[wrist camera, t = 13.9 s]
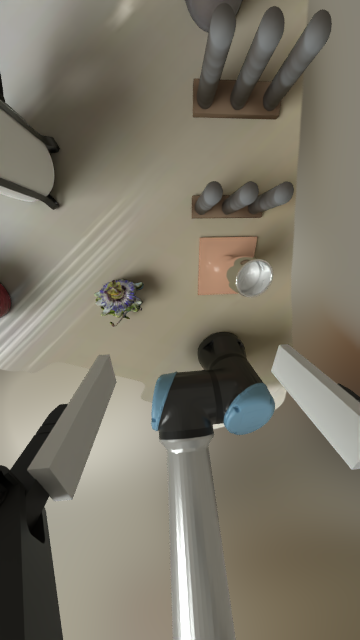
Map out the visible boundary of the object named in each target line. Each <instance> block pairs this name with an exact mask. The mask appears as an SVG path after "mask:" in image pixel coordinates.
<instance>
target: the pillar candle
mask: <svg viewBox="0 0 360 640" xmlns="http://www.w3.org/2000/svg"><path fill="white" fill-rule="evenodd" d="M185 1H186V4H187V7H188V10H189V13H190V15H191V17H192V18H193V20H194V21H195V23H196V24H197V25H198V26H199V27H200V28H201V29H203V30H204V31H206V32H208V33H209V29H210V24H211V19H212V15H213V12H214V10H215V9H216V7H217V6H218V5H219V4H221V3H227V4H229V5H230V6H231V7H232V9H233V11H234V14H235V16H236V14H237V12H238V10H239V8H240V5H241V2H242V0H185Z"/></svg>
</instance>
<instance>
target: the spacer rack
mask: <svg viewBox="0 0 360 640" xmlns="http://www.w3.org/2000/svg"><path fill="white" fill-rule="evenodd" d="M331 24H332V23H331V16H330V14H329V13H328V12H327V11H326V10H320V11H318V12H317V13H316V14H315V15H314V16H313V17H312V19H311V20H310V22H309V24H308V25H307V27H306V28H305V30H304V32H303V33H302V35H301V36H300V38H299V39H298V41H297V43H296V44H295V46H294V47H293V49H292V50H291V52H290V54H289V55H288V57H287V58H286V60H285V61H284V63H283V65H282V66H281V68H280V69H279V71H278V72H277V74H276V76H275V77H274V79H273V80H272V82H267V81H258V80H259V78H260V76H261V74H262V72H263V70H264V69H265V67H266V65H267V63H268V61H269V60H270V58H271V56H272V54H273V52H274V50H275V49H276V47H277V45H278V43H279V41H280V39H281V37H282V35H283V31H284V16H283V13H282V11H281V9H280V8H278V7H276V6H273V7H270V8H269V9H268V10H267V11H266V12H265V14H264V16H263V18H262V20H261V22H260V25H259V27H258V30H257V32H256V34H255V37H254V39H253V42H252V44H251V46H250V49H249V51H248V54H247V56H246V58H245V61H244V63H243V66H242V68H241V70H240V73H239V75H238V78H237V80H220V77H221V74H222V71H223V68H224V64H225V61H226V58H227V55H228V52H229V49H230V45H231V42H232V39H233V36H234V32H235V27H236V19H235V14H234V11H233V9H232V7H231V6H230V5H229V4H227V3H221V4H219V5H218V6H217V7H216V9H215V10H214V12H213V15H212V19H211V24H210V29H209V34H208V39H207V45H206V50H205V55H204V60H203V65H202V70H201V75H200V79H194V83H193V117H207V118H245V119H276V118H277V117H278V116H279V112H280V106H281V100H282V99H283V97H284V96H285V95H286V93H287V92H288V91H289V90H290V88H291V87H292V86H293V85H294V83H295V82H296V81H297V79H298V78H299V77H300V76H301V74H302V73H303V72H304V70H305V69H306V68H307V66H308V65H309V64H310V63H311V62H312V60H313V59H314V58H315V56H316V55H317V54H318V53H319V51H320V50H321V49H322V47H323V46H324V45H325V44H326V42H327V40H328V38H329V35H330V32H331ZM258 192H259V189H258V186H257V184H256V183H255V182H252V181H250V182H247V183H246V184H244V185H243V186H242V187H241V188H239V189H238V190H237V191H236V192H234V193H233V194H232V195H222V194H223V190H222V187H221V185H220V184H219V183H218V182H216V181H213V182H210V183H209V184H208V185H207V186H206V188H205V189H204V191H203V192H202V194H201V195H200V196H192V218H260V217H262V212H263V211H266V210H268V209H271V208H274V207H277V206H279V205H282V204H285V203H287V202H288V201H289V200H290V199H291V198H292V195H293V192H294V188H293V185H292V183H290V182H283V183H282V184H280V185H278V186H276V187H274V188H272V189H271V190H269V191H267V192H265V193H263V194H261V195H258Z"/></svg>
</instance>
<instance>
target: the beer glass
mask: <svg viewBox="0 0 360 640" xmlns="http://www.w3.org/2000/svg"><path fill="white" fill-rule="evenodd" d="M214 270H215V274H216V276H217V277H218V278H219V279H221V280H224V281H225V283H226V284H227V285H228V287H230V288H231V289H232V290H233V291H235V292H237V293H239V294H241V295H243V296H245V297H256V296H259V295H260V294H262V293H263V292H265V291H266V290H267V289H268V287H269V286H270V284H271V282H272V279H273V270H272V267H271V265H270V264H269V263H268V262H267V261H265V260H262V259H258V258H255V257H250V256H240V257H236V258H234V257H232V256H223V257H221V258H220V259H219V260H218V261H217V262H216V264H215V268H214Z"/></svg>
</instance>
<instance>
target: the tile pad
mask: <svg viewBox="0 0 360 640" xmlns="http://www.w3.org/2000/svg"><path fill="white" fill-rule="evenodd" d="M256 242H257V237H215V238H200V246H199V278H198V295H212V294H238V293H237V292H235V291H233V290H232V289H231V288H230V287H228V285H227V284H226V283H225V281H224V280H221V279H219V278H218V277H217V276H216V274H215V270H214V268H215V264H216V262H217V261H218V260H219V259H220V258H221V257H223V256H232V257H234V258H236V257H240V256H250V257H254V254H255V248H256Z"/></svg>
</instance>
